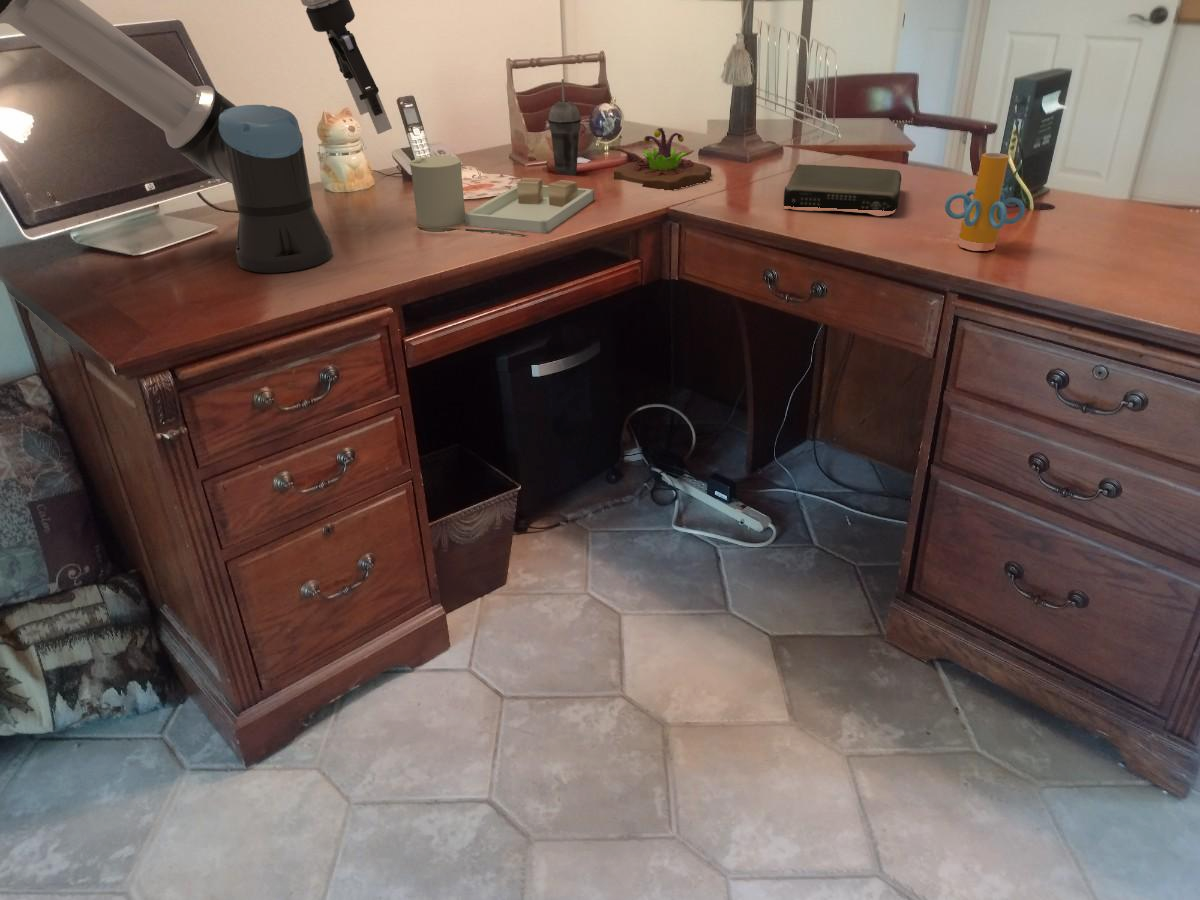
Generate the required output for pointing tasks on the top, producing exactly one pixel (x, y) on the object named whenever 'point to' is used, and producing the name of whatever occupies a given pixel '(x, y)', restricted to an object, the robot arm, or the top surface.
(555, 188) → the block
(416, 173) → the can
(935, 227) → the top surface
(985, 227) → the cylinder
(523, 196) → the block
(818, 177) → the network switch
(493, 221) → the tray
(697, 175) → the plant
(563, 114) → the beverage cup
